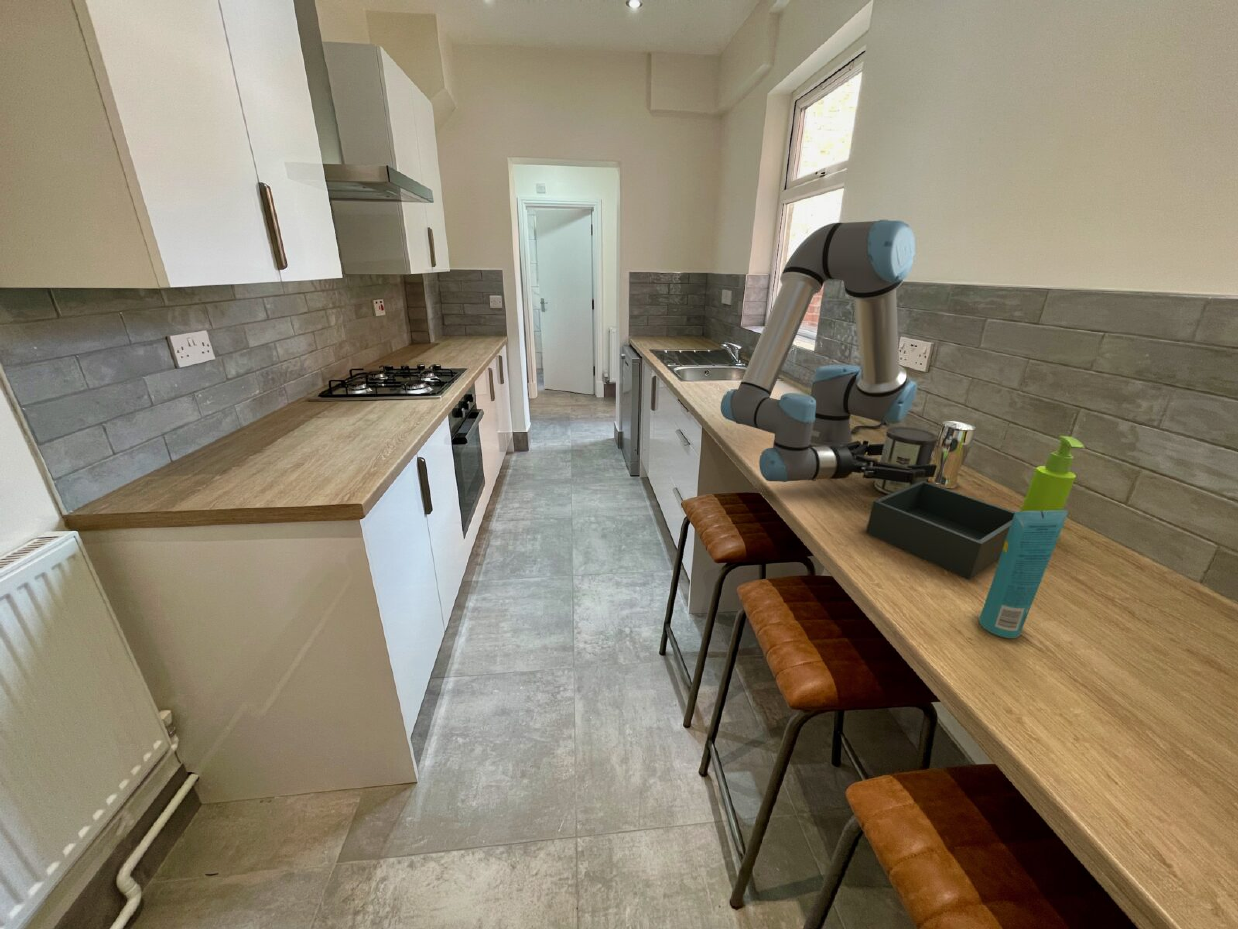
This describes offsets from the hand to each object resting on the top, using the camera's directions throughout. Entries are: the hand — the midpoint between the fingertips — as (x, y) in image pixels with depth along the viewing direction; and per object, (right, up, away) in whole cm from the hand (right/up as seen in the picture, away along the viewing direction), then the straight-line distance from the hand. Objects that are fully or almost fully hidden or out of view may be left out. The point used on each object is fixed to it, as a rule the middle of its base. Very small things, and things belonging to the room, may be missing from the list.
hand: (912, 459), depth 114 cm
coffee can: (-2, -7, +3) cm, 8 cm away
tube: (-13, -25, -42) cm, 51 cm away
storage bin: (-7, -16, -19) cm, 26 cm away
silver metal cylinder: (+11, -6, +6) cm, 14 cm away
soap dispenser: (+15, -15, -16) cm, 26 cm away
